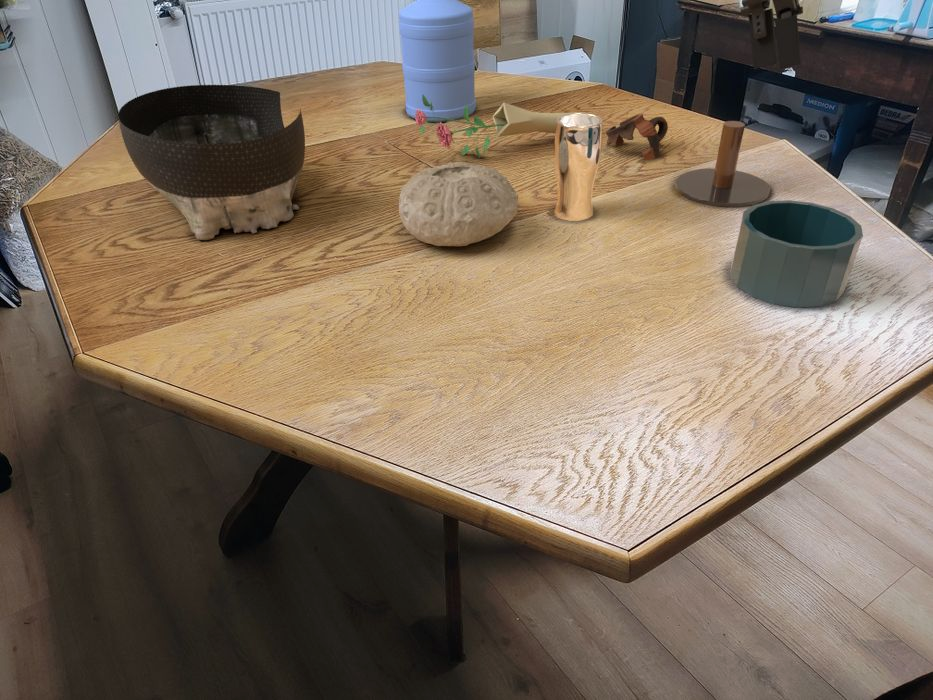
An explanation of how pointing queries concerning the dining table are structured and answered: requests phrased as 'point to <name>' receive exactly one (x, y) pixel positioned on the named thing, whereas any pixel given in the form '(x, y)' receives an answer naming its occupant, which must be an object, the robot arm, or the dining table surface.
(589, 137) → the beer glass
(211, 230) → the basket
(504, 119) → the flower vase
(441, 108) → the water jug
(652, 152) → the twisted brown loop sculpture
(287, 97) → the dining table surface
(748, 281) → the pot
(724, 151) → the lid
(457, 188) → the decorative shell
